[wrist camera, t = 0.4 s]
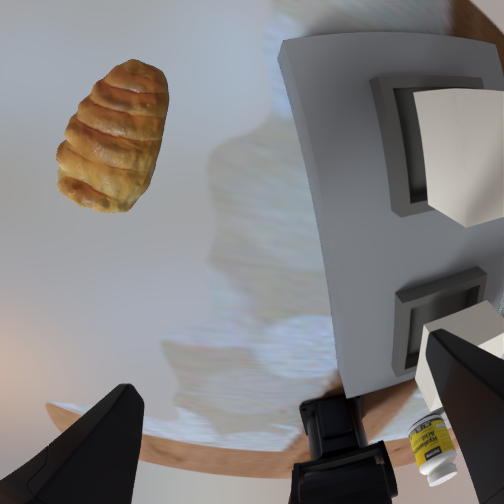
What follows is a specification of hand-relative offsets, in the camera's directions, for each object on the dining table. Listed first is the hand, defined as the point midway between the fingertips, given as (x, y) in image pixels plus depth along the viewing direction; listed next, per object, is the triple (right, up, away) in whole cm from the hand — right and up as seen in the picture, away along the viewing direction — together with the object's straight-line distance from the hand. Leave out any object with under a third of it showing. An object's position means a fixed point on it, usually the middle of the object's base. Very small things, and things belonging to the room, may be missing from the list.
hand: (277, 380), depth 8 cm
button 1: (+12, -2, +7) cm, 14 cm away
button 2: (+9, +8, +2) cm, 12 cm away
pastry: (-9, +11, +9) cm, 17 cm away
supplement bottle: (+23, -20, +23) cm, 38 cm away
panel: (+11, +6, +11) cm, 16 cm away
